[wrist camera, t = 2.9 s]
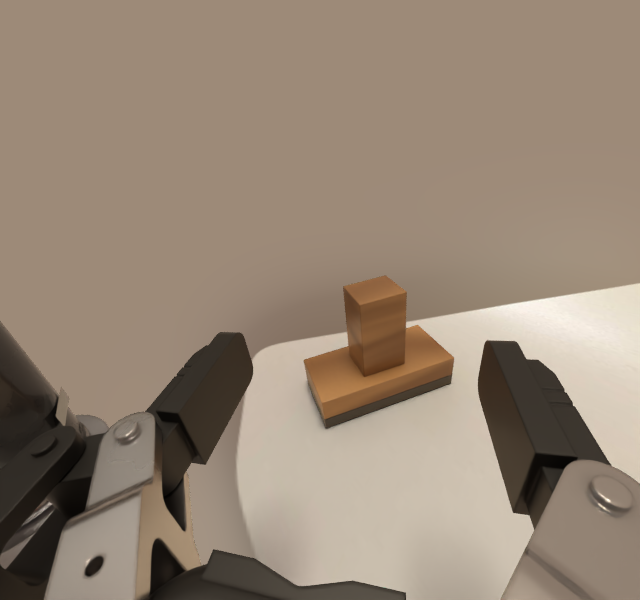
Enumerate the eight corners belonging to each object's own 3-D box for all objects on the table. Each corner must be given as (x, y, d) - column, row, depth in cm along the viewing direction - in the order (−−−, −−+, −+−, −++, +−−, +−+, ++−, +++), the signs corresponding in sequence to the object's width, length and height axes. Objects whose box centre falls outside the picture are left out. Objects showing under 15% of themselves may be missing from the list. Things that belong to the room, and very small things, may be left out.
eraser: (450, 383, 25) (464, 284, 20) (326, 428, 23) (308, 328, 18) (416, 348, 29) (421, 259, 25) (308, 383, 27) (290, 292, 22)
